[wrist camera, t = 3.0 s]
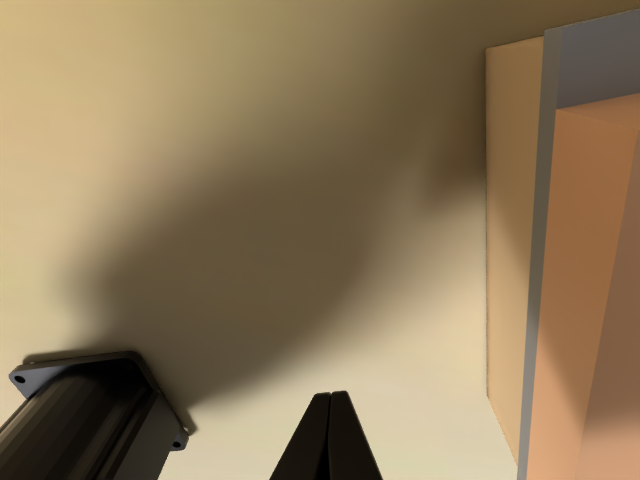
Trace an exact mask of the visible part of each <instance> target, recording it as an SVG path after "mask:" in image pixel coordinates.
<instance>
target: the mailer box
mask: <svg viewBox="0 0 640 480" xmlns="http://www.w3.org/2000/svg"><path fill="white" fill-rule="evenodd" d="M543 41H544V35H543V36H539V37H534V38H530V39H526V40H521V41H517V42H512V43H508V44H504V45H499V46H495V47H491V48H486V301H487V396H488V399H489V401H490V403H491V406H492V408H493V410H494V413H495V415H496V417H497V420H498V422H499V424H500V427H501V429H502V431H503V434H504V436H505V438H506V441H507V443H508V445H509V448H510V450H511V452H512V455H513V457H514V459H515V462H516V464H517V466H518V456H519V439H520V423H521V406H522V389H523V373H524V356H525V340H526V323H527V306H528V290H529V273H530V257H531V240H532V223H533V207H534V190H535V174H536V157H537V140H538V124H539V107H540V91H541V74H542V57H543Z"/></svg>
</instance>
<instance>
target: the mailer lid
mask: <svg viewBox="0 0 640 480" xmlns="http://www.w3.org/2000/svg"><path fill="white" fill-rule="evenodd" d="M517 480H640V8H637V9H632V10H628V11H624V12H619V13H615V14H611V15H606V16H602V17H598V18H593V19H589V20H585V21H580V22H576V23H572V24H567V25H563V26H559V27H554V28H550V29H546V30H544V41H543V57H542V74H541V91H540V107H539V124H538V140H537V157H536V174H535V190H534V207H533V223H532V240H531V257H530V273H529V290H528V306H527V323H526V340H525V356H524V373H523V389H522V406H521V423H520V439H519V456H518V472H517Z"/></svg>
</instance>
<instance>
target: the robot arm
mask: <svg viewBox="0 0 640 480" xmlns="http://www.w3.org/2000/svg"><path fill="white" fill-rule="evenodd" d="M9 378H10V380H11V382H12V383H13V384H14V385H15V386H16V387H17V389H18V390H19V391H20V392H21V393H22V395H23V396H24V397H25V398H26V400H25V401H24V403H23V404H22V405H21V406H20V407H19V408H18V409H17V410H16V411H15V412H14V413H13V414H12V416H11V417H10V418H9V419H8V420H7V421H6V422H5V423H4V424H3V425H2V426H1V427H0V480H158V477H159V475H160V473H161V470H162V468H163V466H164V464H165V461H166V459H167V457H168V454H169V452H170V451H180V450H184V449H185V448H186V445H187V443H188V440H189V437H188V435H187V433H186V431H185V430H184V428H183V426H182V425H181V423H180V421H179V420H178V418H177V416H176V414H175V413H174V411H173V409H172V408H171V406H170V404H169V403H168V401H167V399H166V397H165V396H164V394H163V392H162V391H161V389H160V387H159V386H158V384H157V382H156V380H155V379H154V377H153V375H152V374H151V372H150V370H149V369H148V367H147V365H146V363H145V362H144V360H143V358H142V357H141V356H140V355H139V354H137V353H135V352H132V351H125V352H118V353H110V354H102V355H94V356H87V357H79V358H71V359H63V360H56V361H48V362H40V363H32V364H25V365H19V366H17V367H16V368H15V369H14V370H13V371H12V372H11V373H10V374H9ZM269 480H383V478H382V476H381V473H380V471H379V468H378V466H377V463H376V461H375V458H374V456H373V453H372V451H371V448H370V446H369V443H368V441H367V439H366V436H365V434H364V431H363V429H362V426H361V424H360V421H359V419H358V416H357V414H356V411H355V409H354V406H353V404H352V401H351V399H350V396H349V394H348V392H347V391H335V392H332V394H331V393H329V392H325V393H317V394H315V395H314V397H313V398H312V400H311V402H310V404H309V406H308V408H307V410H306V411H305V413H304V415H303V417H302V419H301V421H300V423H299V425H298V426H297V428H296V430H295V432H294V434H293V436H292V438H291V440H290V441H289V443H288V445H287V447H286V449H285V451H284V453H283V455H282V457H281V458H280V460H279V462H278V464H277V466H276V468H275V470H274V472H273V473H272V475H271V477H270V479H269Z"/></svg>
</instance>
